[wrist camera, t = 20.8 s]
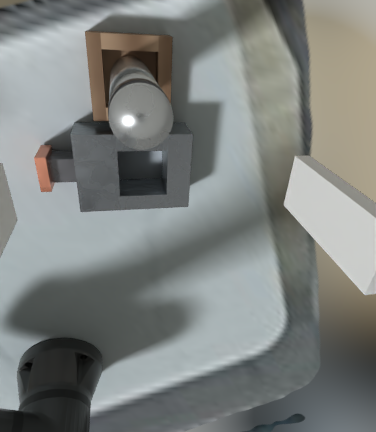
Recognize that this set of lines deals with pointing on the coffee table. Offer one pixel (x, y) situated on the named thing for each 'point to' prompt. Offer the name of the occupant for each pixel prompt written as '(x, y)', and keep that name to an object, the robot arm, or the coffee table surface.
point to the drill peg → (137, 105)
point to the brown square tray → (119, 47)
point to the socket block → (129, 188)
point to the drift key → (54, 167)
